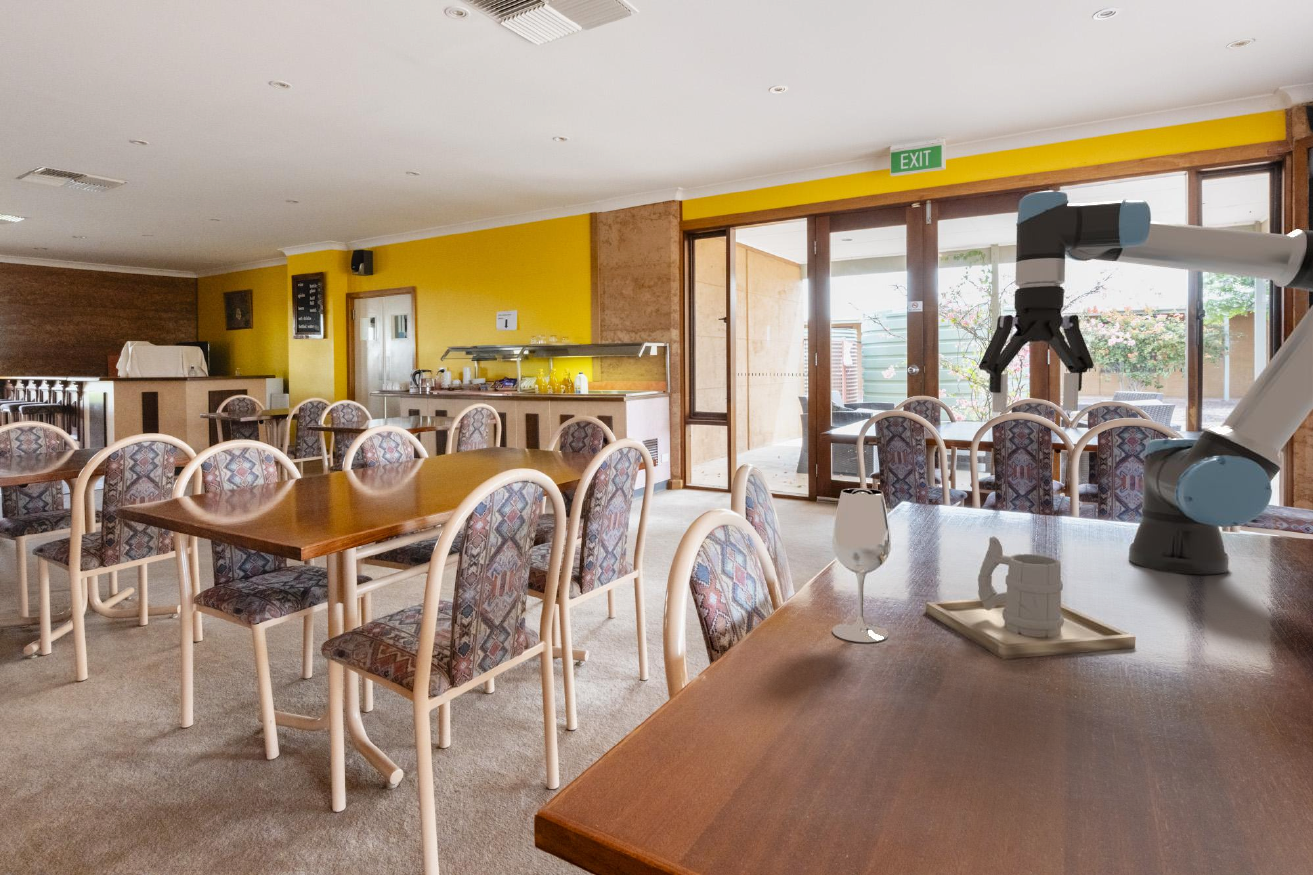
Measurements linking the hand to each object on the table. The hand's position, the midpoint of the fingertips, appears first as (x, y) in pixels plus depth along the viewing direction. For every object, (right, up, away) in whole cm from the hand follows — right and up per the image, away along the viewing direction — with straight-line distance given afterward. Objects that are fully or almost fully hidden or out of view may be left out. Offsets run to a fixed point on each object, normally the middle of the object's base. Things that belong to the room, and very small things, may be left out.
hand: (1035, 411), depth 134 cm
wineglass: (-37, -32, -26) cm, 56 cm away
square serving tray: (-14, -31, -25) cm, 43 cm away
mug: (-15, -31, -25) cm, 43 cm away
